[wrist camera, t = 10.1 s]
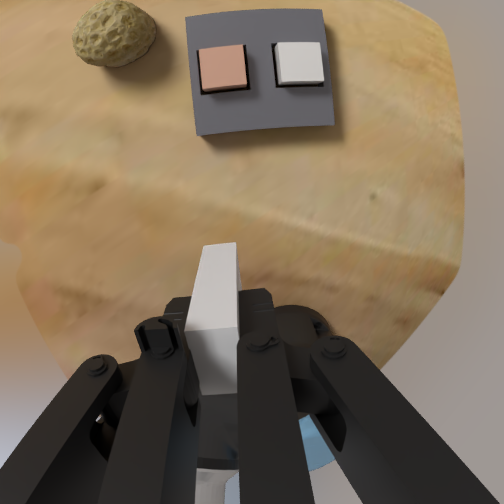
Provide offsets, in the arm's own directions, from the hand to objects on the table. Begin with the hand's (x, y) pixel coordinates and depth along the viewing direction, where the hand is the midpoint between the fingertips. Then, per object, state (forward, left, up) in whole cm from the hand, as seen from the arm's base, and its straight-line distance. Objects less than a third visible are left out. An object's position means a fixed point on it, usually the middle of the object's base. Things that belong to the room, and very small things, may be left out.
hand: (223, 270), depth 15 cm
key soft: (+14, -10, -27) cm, 32 cm away
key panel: (+14, -5, -28) cm, 32 cm away
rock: (+22, +13, -29) cm, 38 cm away
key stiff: (+14, 0, -27) cm, 30 cm away
